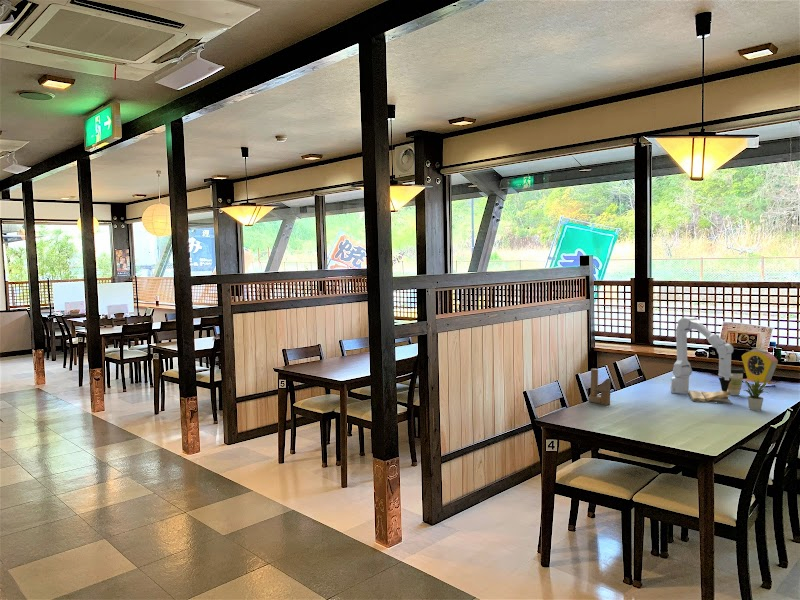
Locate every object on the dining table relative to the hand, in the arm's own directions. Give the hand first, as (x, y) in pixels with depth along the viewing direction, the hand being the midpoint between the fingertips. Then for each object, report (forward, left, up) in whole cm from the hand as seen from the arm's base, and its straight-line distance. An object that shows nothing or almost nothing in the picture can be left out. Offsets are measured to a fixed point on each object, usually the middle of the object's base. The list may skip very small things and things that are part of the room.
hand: (724, 391), depth 324 cm
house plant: (+13, -15, -6) cm, 21 cm away
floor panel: (-6, +5, -6) cm, 10 cm away
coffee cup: (+8, +20, -6) cm, 22 cm away
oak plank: (-3, 0, -3) cm, 4 cm away
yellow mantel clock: (+28, +58, -6) cm, 64 cm away
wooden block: (-63, -25, -6) cm, 69 cm away
